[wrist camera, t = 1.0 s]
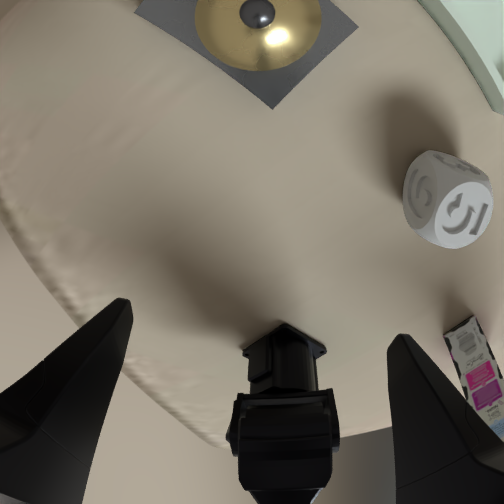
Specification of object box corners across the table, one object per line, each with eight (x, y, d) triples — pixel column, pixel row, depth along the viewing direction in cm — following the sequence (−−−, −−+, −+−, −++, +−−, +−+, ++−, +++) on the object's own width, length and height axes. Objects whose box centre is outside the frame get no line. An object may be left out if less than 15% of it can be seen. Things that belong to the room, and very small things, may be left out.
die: (447, 215, 21) (477, 252, 17) (395, 207, 21) (422, 247, 17) (465, 158, 18) (503, 187, 14) (412, 144, 18) (447, 172, 14)
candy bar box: (439, 335, 29) (480, 461, 16) (474, 312, 27) (525, 436, 14) (459, 364, 34) (490, 463, 21) (487, 346, 32) (523, 443, 18)
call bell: (349, 29, 14) (373, 23, 10) (271, 104, 17) (273, 117, 13) (220, -63, 10) (207, -90, 6) (146, 15, 13) (115, 8, 10)
